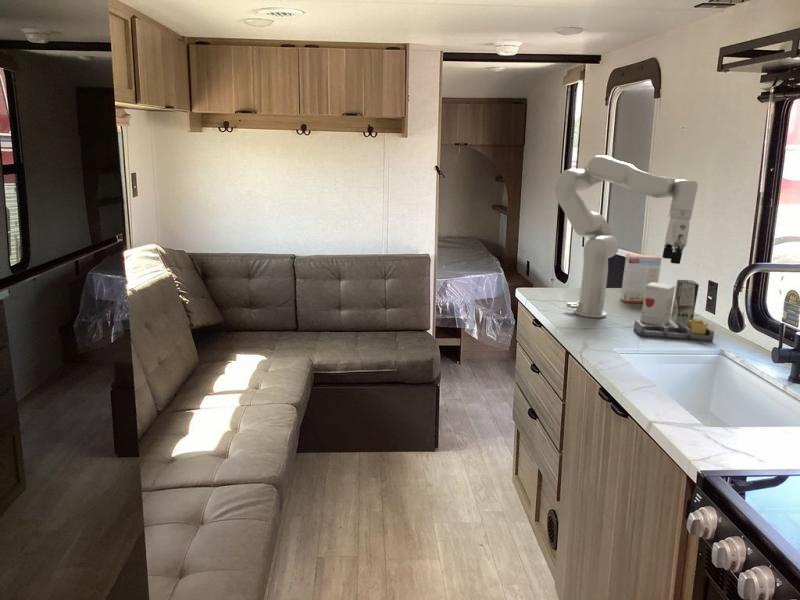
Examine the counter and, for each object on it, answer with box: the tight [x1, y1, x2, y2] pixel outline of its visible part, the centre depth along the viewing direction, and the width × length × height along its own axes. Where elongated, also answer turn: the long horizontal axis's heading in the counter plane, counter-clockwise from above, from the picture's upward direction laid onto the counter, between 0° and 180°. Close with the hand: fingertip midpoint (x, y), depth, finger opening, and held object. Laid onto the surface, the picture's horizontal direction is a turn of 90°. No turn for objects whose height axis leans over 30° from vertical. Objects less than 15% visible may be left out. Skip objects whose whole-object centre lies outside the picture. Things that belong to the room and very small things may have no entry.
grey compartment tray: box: [633, 319, 715, 343], centre depth 233 cm, size 25×9×4 cm, turn 85°
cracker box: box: [620, 254, 663, 304], centre depth 285 cm, size 14×6×21 cm, turn 88°
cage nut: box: [686, 318, 708, 335], centre depth 232 cm, size 5×5×6 cm
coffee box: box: [670, 279, 700, 325], centre depth 255 cm, size 9×6×16 cm
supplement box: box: [639, 282, 676, 326], centre depth 251 cm, size 9×9×15 cm
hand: (670, 260), depth 236 cm, fingers open, 9 cm apart
